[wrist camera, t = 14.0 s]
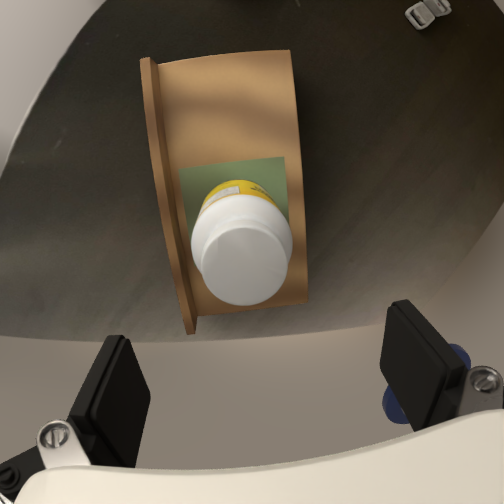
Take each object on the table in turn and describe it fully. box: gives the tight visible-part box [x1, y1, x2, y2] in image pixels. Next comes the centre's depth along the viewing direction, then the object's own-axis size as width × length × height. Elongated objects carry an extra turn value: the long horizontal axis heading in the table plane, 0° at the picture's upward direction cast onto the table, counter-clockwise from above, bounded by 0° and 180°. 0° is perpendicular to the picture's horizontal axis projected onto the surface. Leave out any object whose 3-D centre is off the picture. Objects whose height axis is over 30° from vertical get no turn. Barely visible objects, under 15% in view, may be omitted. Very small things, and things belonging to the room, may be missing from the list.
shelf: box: [140, 50, 308, 335], centre depth 29 cm, size 24×12×9 cm, turn 6°
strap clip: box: [405, 0, 452, 30], centre depth 24 cm, size 8×3×4 cm, turn 135°
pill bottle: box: [191, 179, 293, 306], centre depth 22 cm, size 6×6×12 cm
